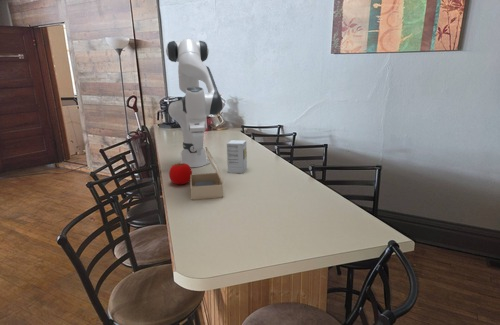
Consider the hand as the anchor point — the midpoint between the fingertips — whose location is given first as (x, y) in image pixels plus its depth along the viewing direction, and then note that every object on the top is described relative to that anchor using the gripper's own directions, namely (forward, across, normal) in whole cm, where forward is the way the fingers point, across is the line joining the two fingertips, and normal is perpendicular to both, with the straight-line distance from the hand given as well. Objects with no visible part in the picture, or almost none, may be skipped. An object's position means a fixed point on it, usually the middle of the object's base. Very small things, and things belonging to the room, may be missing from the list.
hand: (198, 154), depth 146 cm
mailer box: (+18, 0, +2) cm, 18 cm away
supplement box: (+18, -29, +21) cm, 40 cm away
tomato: (+18, -15, -10) cm, 26 cm away
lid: (+5, 0, +6) cm, 8 cm away
